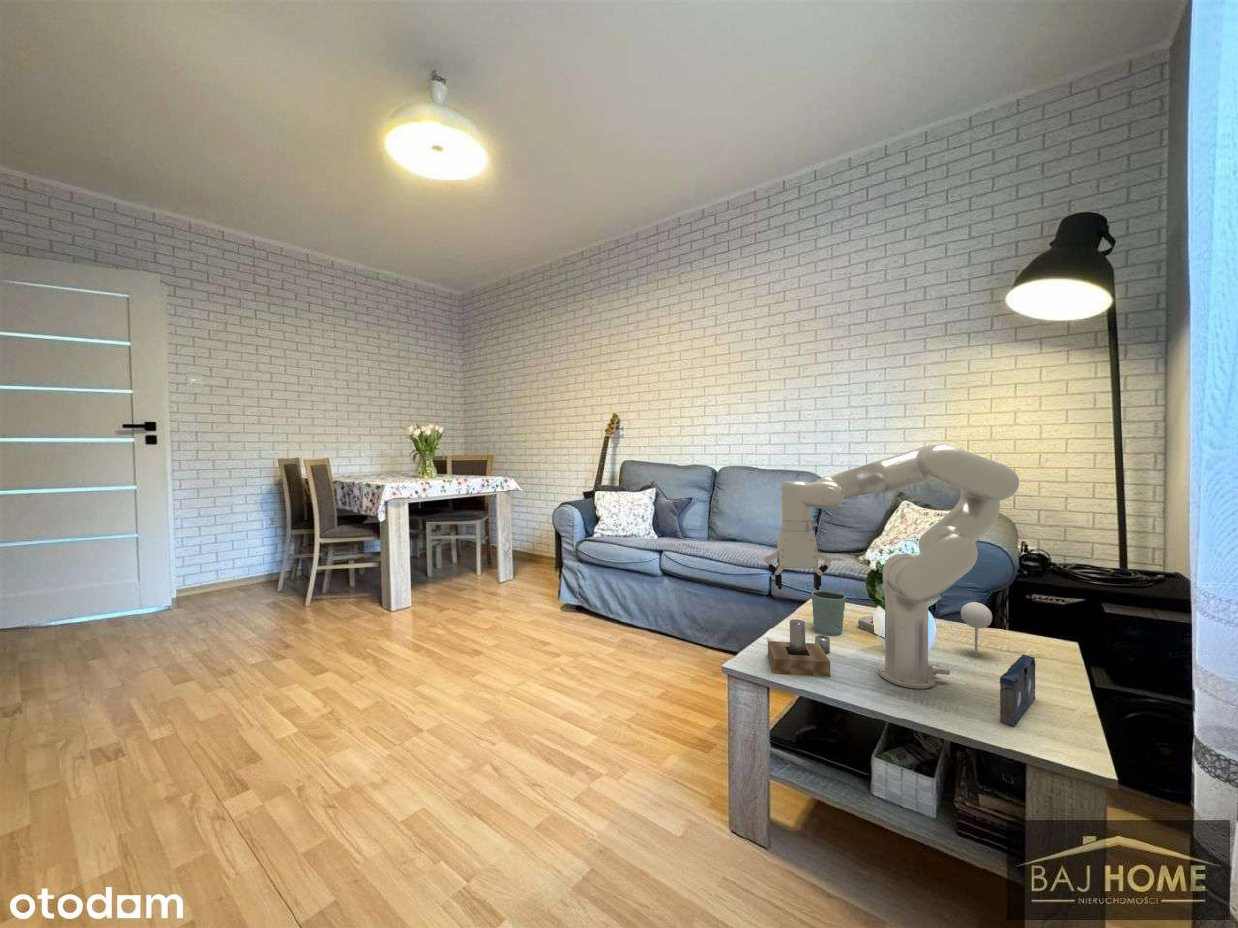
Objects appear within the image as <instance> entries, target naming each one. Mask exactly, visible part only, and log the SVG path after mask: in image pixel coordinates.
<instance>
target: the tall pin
mask: <svg viewBox="0 0 1238 928" xmlns="http://www.w3.org/2000/svg"><path fill="white" fill-rule="evenodd" d="M789 642H790V655H804V656H806V653H805V643H806V621H804V620H801V619H795V618H794V619H790V620H789Z"/></svg>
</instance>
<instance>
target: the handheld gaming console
mask: <svg viewBox="0 0 1238 928" xmlns="http://www.w3.org/2000/svg"><path fill="white" fill-rule="evenodd" d="M873 615H874V614H872V615H868V616H863V617H861V618H859V619H858V620H857V623H858V628H860V629H861V630H863V631H865V632H868V633H871V634H873V635H876V634H875V633H874V624H873Z"/></svg>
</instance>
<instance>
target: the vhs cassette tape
mask: <svg viewBox="0 0 1238 928" xmlns="http://www.w3.org/2000/svg"><path fill="white" fill-rule="evenodd" d="M1036 664H1037V663H1036V658H1035V657H1034V656H1031V655H1030V656H1029V655H1026V654H1022V655H1021V656H1020V657H1018V658H1017V660H1016V661H1015V662H1013V663H1012V664H1011V665H1010V667H1009V668H1008V669H1007V671H1006V672H1004V673H1002V675H1001V676H1000V677H999V687H1000V689H999V701H1000V702H999V705H1000V707H999V708H1000V709H999V710H1000V712H999V713H1000V717H999V718H1000V720H999V721H1000V723H1002V724H1004V725H1006V726H1010V727H1013V728H1016V726H1017V725H1018V724H1019V722H1020V720H1021V719H1022V718H1023V717H1024V715H1025V714H1026V713H1027V711H1028V710H1029V708H1030V707H1031V706H1032V704H1033V703H1034V701H1035V700H1036Z"/></svg>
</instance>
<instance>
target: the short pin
mask: <svg viewBox="0 0 1238 928" xmlns="http://www.w3.org/2000/svg"><path fill="white" fill-rule="evenodd" d="M814 643H818V644H820V646H821V648H822V649H823V651H824V652H825V654H826V655H829V654H830V653H831V639H830V636H827V635H823V634H821V635H820V634H819V635H815V636H814Z"/></svg>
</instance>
